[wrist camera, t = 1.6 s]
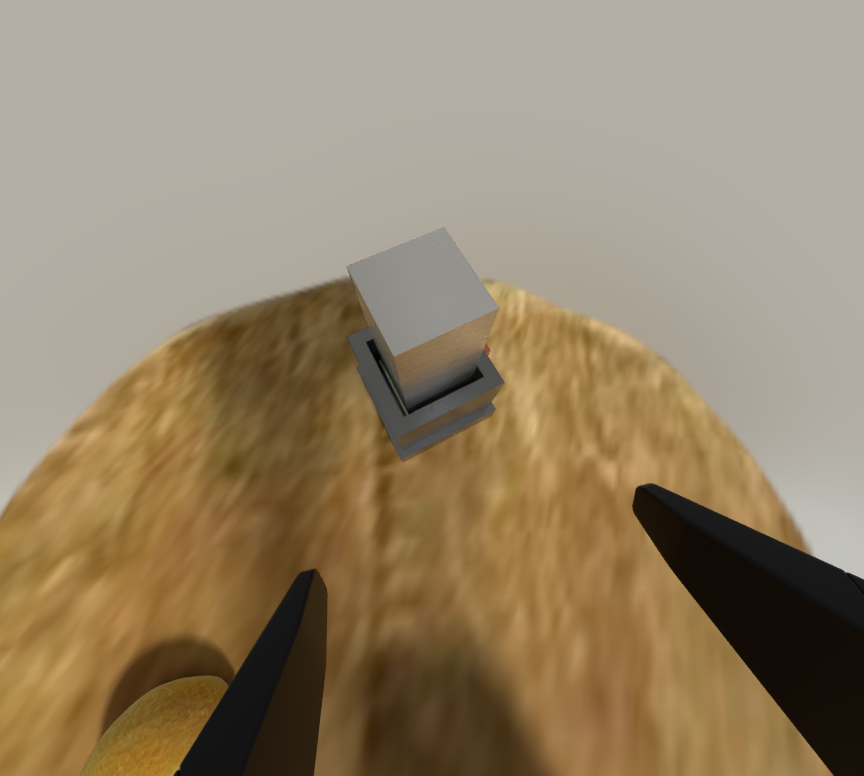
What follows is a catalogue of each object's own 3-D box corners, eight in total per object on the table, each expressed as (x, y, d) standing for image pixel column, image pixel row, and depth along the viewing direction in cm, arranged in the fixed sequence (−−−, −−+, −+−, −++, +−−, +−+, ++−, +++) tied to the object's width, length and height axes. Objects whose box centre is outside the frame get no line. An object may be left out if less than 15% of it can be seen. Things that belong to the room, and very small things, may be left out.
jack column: (466, 399, 21) (503, 309, 11) (411, 427, 20) (392, 360, 10) (437, 349, 22) (445, 224, 12) (384, 374, 22) (342, 265, 11)
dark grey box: (490, 416, 23) (515, 386, 16) (403, 462, 22) (392, 449, 15) (444, 339, 25) (450, 284, 18) (362, 377, 24) (337, 333, 17)
